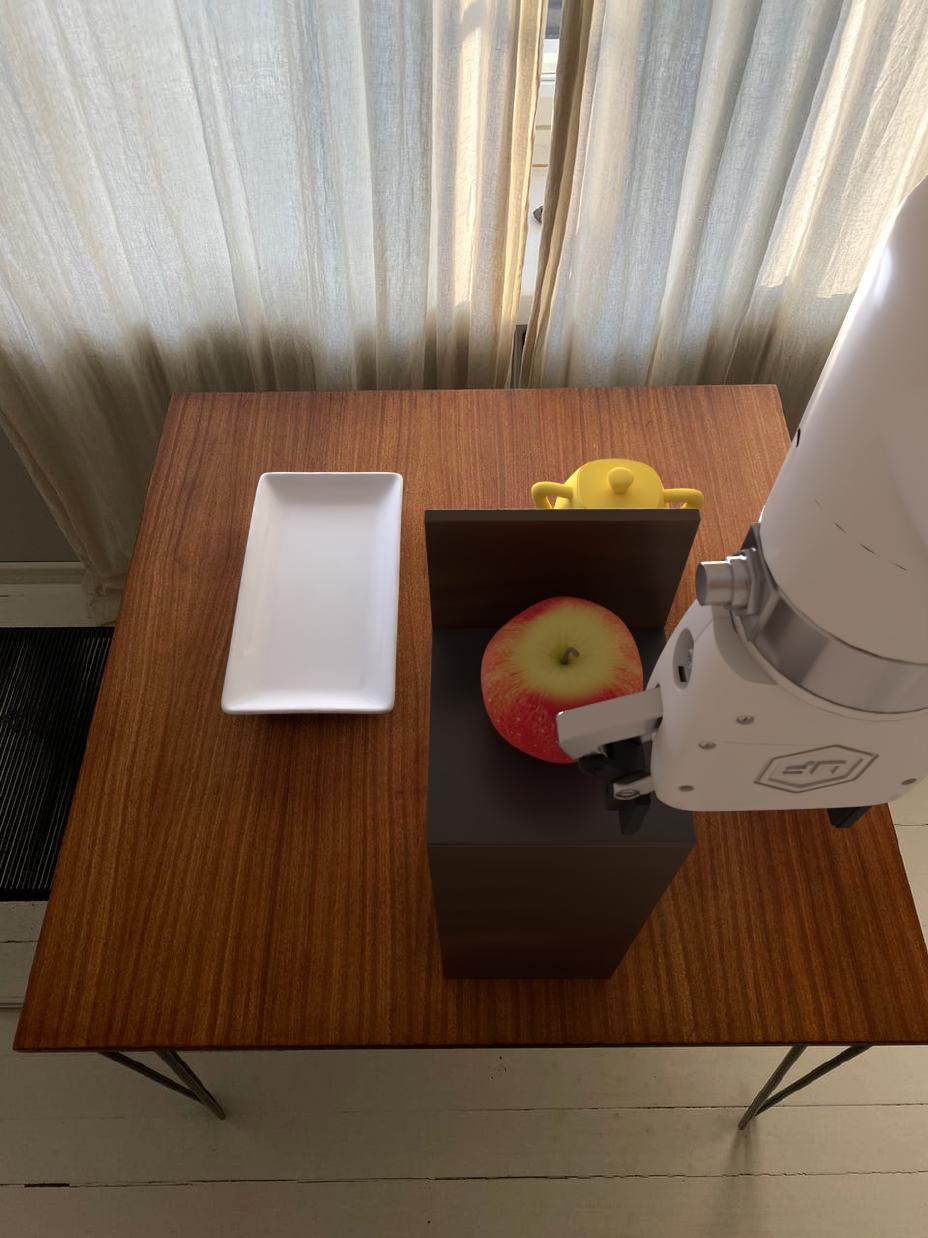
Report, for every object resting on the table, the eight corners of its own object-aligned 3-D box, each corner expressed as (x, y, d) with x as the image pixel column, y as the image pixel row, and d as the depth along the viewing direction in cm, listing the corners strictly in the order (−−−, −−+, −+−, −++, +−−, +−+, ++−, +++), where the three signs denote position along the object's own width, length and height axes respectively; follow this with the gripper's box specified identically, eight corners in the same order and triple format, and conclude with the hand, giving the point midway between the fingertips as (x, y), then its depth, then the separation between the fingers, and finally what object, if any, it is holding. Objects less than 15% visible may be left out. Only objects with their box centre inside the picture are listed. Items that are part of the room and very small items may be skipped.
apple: (487, 796, 46) (490, 708, 38) (474, 659, 51) (474, 554, 43) (640, 784, 47) (677, 695, 38) (613, 650, 51) (641, 544, 43)
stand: (610, 979, 73) (748, 761, 37) (443, 979, 73) (415, 762, 37) (596, 819, 81) (699, 507, 44) (446, 819, 81) (424, 508, 44)
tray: (406, 489, 104) (404, 468, 101) (396, 727, 86) (393, 711, 83) (264, 490, 104) (258, 470, 101) (226, 729, 86) (217, 713, 84)
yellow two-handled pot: (515, 549, 99) (520, 477, 89) (601, 484, 104) (614, 409, 94) (607, 624, 93) (623, 556, 83) (693, 551, 98) (717, 479, 88)
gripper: (596, 708, 24) (548, 887, 38) (1214, 690, 24) (938, 875, 39) (569, 501, 28) (536, 733, 43) (1098, 487, 28) (887, 723, 43)
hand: (727, 800), depth 41 cm, fingers open, 9 cm apart
